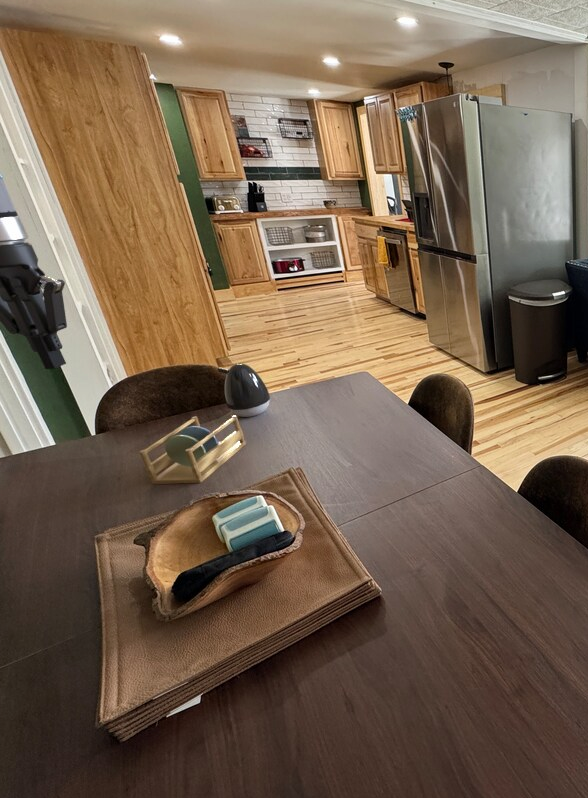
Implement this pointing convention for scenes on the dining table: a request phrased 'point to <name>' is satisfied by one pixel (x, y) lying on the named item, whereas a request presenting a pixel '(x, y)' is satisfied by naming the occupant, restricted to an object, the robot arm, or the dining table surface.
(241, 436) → the dish rack
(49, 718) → the dining table surface
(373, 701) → the dining table surface
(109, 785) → the dining table surface
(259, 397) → the pump dispenser
